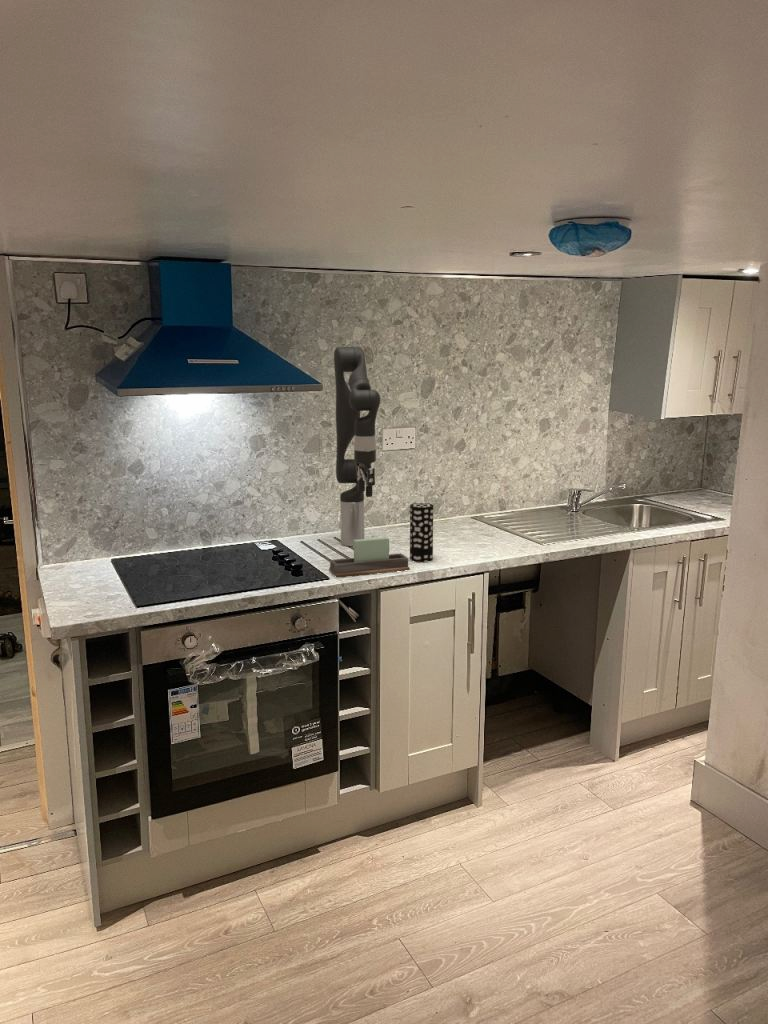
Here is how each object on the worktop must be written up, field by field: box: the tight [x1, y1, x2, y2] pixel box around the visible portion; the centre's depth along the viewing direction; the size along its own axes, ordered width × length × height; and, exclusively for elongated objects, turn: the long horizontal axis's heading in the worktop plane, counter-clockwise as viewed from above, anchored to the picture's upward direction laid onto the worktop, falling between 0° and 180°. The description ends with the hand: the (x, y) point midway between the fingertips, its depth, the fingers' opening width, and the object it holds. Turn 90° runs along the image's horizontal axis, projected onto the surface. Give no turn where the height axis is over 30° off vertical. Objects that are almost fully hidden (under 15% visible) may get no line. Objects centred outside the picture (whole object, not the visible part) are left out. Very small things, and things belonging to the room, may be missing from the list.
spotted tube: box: [409, 502, 434, 563], centre depth 280 cm, size 8×8×20 cm
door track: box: [328, 552, 411, 578], centre depth 269 cm, size 10×26×4 cm, turn 109°
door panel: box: [353, 536, 390, 562], centre depth 268 cm, size 2×12×10 cm, turn 109°
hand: (365, 494), depth 273 cm, fingers open, 8 cm apart
